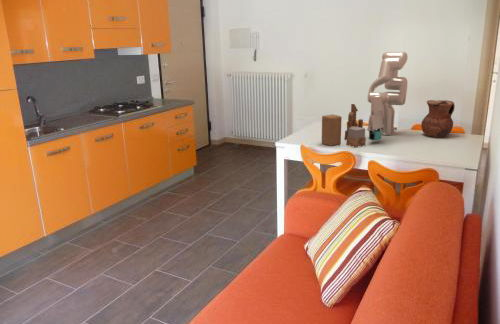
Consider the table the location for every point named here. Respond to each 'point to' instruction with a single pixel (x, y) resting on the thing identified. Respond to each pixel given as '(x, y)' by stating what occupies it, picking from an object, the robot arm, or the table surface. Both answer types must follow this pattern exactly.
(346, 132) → the wooden toy
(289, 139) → the table surface
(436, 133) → the jug
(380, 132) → the teal cube
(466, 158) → the table surface
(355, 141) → the tower base
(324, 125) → the wooden block
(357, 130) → the tower mid
